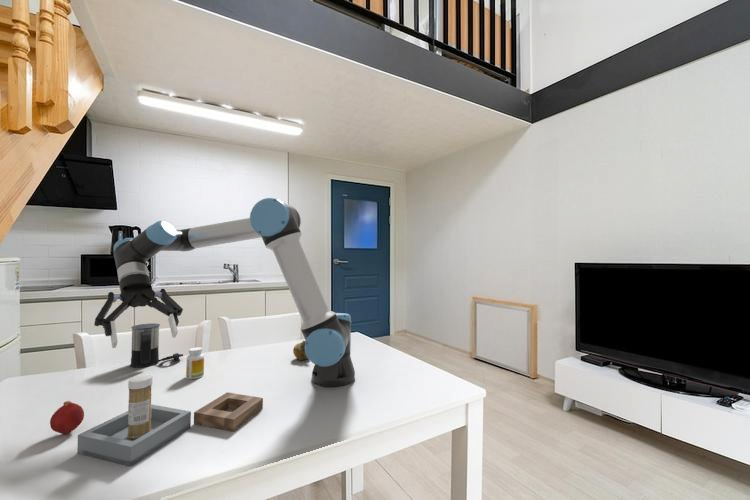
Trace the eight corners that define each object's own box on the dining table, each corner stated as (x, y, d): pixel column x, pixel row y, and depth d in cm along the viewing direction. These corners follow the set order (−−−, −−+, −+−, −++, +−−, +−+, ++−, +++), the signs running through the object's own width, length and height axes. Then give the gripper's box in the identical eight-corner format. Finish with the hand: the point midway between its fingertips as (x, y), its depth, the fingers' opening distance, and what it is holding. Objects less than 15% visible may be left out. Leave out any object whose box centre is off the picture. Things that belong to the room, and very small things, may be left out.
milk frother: (126, 364, 121) (127, 325, 121) (171, 354, 134) (172, 319, 134) (140, 373, 113) (141, 331, 113) (187, 361, 126) (188, 324, 126)
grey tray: (190, 427, 79) (190, 411, 79) (130, 466, 64) (131, 446, 64) (143, 418, 83) (144, 403, 83) (77, 453, 68) (77, 434, 68)
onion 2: (311, 355, 136) (312, 336, 136) (311, 361, 128) (311, 342, 128) (293, 356, 134) (294, 337, 134) (292, 362, 126) (292, 342, 127)
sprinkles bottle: (153, 427, 77) (155, 372, 77) (147, 438, 72) (149, 379, 72) (131, 431, 75) (132, 374, 75) (123, 442, 71) (125, 382, 71)
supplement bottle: (207, 373, 113) (207, 346, 113) (197, 379, 108) (197, 351, 108) (193, 373, 114) (193, 346, 114) (182, 379, 108) (183, 350, 108)
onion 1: (65, 427, 78) (66, 395, 78) (90, 426, 78) (91, 394, 78) (42, 441, 72) (43, 406, 72) (69, 440, 73) (70, 406, 73)
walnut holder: (262, 408, 89) (262, 397, 89) (233, 431, 78) (233, 419, 78) (226, 402, 92) (227, 392, 92) (193, 424, 81) (194, 412, 81)
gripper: (178, 285, 107) (193, 338, 97) (77, 291, 88) (83, 358, 78) (183, 270, 103) (200, 324, 93) (80, 274, 85) (86, 341, 75)
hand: (146, 339), depth 86 cm, fingers open, 13 cm apart
